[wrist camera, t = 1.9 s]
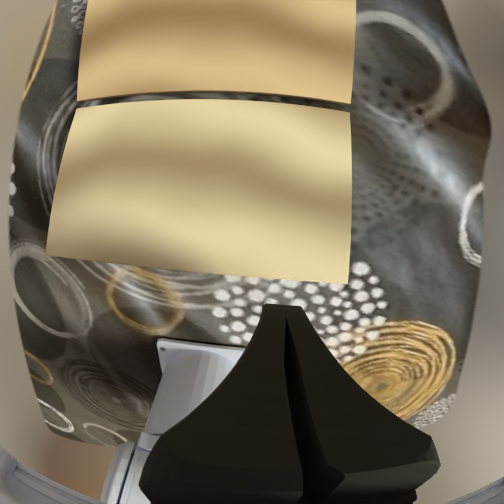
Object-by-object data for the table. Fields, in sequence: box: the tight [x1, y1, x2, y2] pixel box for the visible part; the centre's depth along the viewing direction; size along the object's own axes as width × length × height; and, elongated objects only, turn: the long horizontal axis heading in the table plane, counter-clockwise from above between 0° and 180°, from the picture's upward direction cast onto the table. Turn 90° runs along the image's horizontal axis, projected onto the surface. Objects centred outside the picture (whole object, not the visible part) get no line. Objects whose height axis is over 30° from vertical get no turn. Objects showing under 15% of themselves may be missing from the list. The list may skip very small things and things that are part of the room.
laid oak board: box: [77, 0, 356, 105], centre depth 13 cm, size 8×16×2 cm, turn 86°
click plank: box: [46, 99, 352, 284], centre depth 15 cm, size 9×16×2 cm, turn 84°
